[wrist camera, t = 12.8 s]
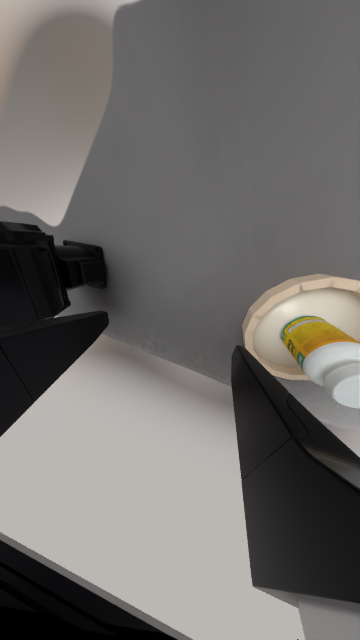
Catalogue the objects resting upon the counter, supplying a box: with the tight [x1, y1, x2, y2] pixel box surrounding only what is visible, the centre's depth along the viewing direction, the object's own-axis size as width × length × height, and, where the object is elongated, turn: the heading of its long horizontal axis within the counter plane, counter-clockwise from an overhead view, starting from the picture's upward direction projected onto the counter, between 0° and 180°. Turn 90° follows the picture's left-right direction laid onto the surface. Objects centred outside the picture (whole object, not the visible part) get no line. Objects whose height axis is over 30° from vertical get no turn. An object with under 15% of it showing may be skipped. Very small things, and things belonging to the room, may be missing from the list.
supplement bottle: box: [280, 315, 360, 408], centre depth 15 cm, size 5×5×10 cm
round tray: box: [242, 274, 360, 380], centre depth 19 cm, size 15×15×2 cm
